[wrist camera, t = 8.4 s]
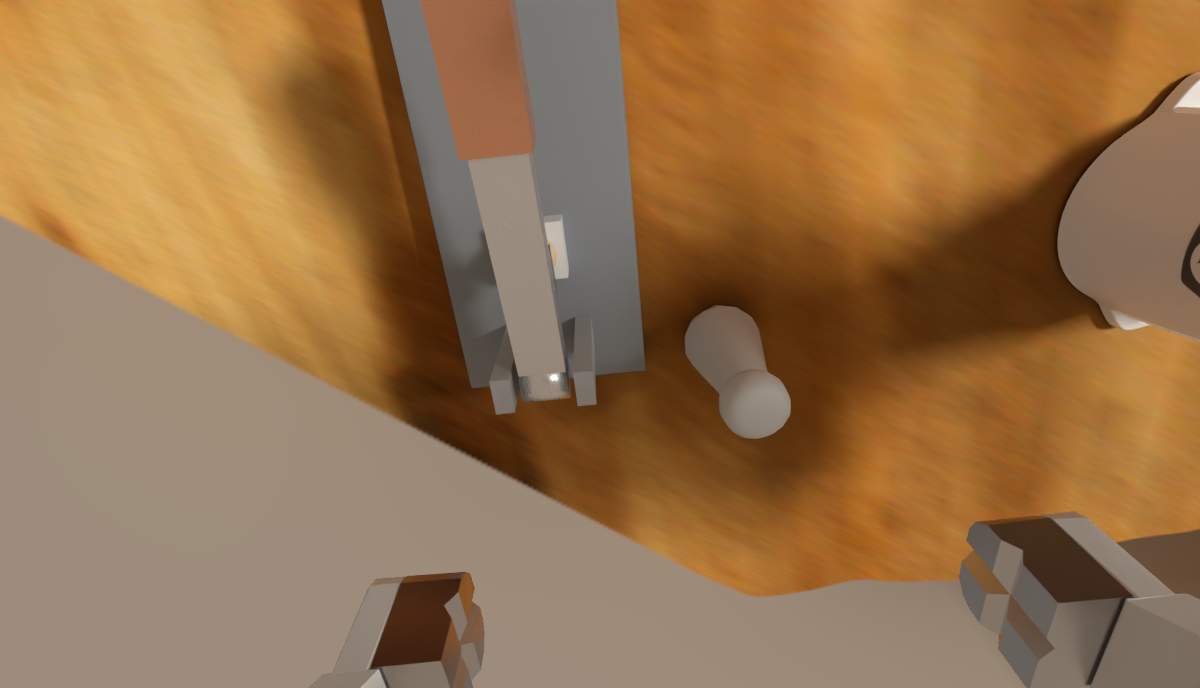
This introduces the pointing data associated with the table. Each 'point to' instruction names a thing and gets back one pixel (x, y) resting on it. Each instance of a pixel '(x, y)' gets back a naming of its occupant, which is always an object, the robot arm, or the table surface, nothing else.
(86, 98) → the table surface
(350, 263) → the table surface
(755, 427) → the salt shaker
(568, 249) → the base
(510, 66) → the lever
